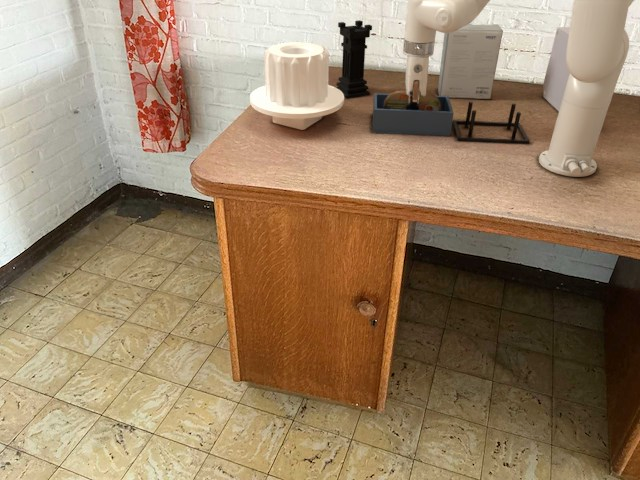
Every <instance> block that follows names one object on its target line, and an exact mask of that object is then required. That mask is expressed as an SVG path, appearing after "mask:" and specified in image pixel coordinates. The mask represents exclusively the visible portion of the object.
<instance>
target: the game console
mask: <svg viewBox="0 0 640 480" xmlns="http://www.w3.org/2000/svg"><path fill="white" fill-rule="evenodd" d="M569 29H570V26H564V27H563V26H558V27H556V31H555V35H554V39H553V43H552V47H551V50H550V55H549V59H548V63H547V68H546V72H545V76H544V79H543V84H542V97H543V98H544V99H545V100H546V101H547V102H548V103H549V104H550V105H551V106H552V107H553V108H554V109H555V110H556V111H557V112H559V110H560V106H561V102H562V99H563V95H564V92H565V88H566V85H567V81H568V78H569V75H570V72H569V70H568V68H567V64H566V52H567V44H568V37H569Z"/></svg>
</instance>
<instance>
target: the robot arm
mask: <svg viewBox="0 0 640 480" xmlns="http://www.w3.org/2000/svg"><path fill="white" fill-rule="evenodd" d="M490 1H491V0H407V4H406V5H407V6H406V14H405V15H406V16H405V25H404V35H403V47H402V54H404V55H405V56H406V65H405V79H404V80H405V81H404V83H405V91H406V93H407V95H408V105H406V110H419V97H420V92H421V96H423V97H424V96H425V95H426V91H427V85H428V78H429V77H428V76H429V65H430V57H432V56H433V55H434V51H435V43H436V36H437V32H439V33H443V34H444V33H452V32H454V31H456V30H458V29H460V28H462V27H464V26H466V25H468V24H472V22H473V21H474V20H475V19H477V17H478V16H479V15H480V14H481V13H482V12H483V10H484V9H485V8H486V6H487V5H488V4H489V2H490ZM634 1H635V0H573V3H572V9H571V15H570V22H569V23H570V24H569V27H570V29H569V37H568V44H567V52H566V64H567V68H568V70H569V72H570V75H569V78H568V81H567V85H566V88H565V92H564V95H563V99H562V102H561V106H560V110H559V111H558V114H557V116H556V121H555V124H554V128H553V132H552V135H551V139H550V142H549V147H548V149H547V150H545V151H542V152H541V153H540V155H539V157H538V163H539V164H540V165H541V166H542V167H543V168H544V169H546V170H547V171H549V172H551V173H553V174H557V175H560V176H564V177H571V178H572V177H573V178H581V177H583V178H584V177H588V176H591V175H593V174H594V173H595V172H596V171H597V167H598V164H597V162H596V161H595V160H594V159H593V156H594V153H595V150H596V148H597V145H598V141H599V139H600V135H601V132H602V129H603V125H604V122H605V119H606V118H607V117H606V116H607V113H608V111H609V107H610V105H611V101H612V99H613V96H614V93H615V90H616V86H617V84H618V81H619V78H620V76H621V73H622V70H623V68H624V65H625V62H626V60H627V56H628V55H629V49H630V38H629V35H628V32H627V31H626V28H625V27H626V23H627V17H628V13H629V8H630V6H631V5H632V4H633V2H634ZM411 92H413V94H411ZM411 97H412V98H411Z"/></svg>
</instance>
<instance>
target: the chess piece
mask: <svg viewBox="0 0 640 480" xmlns="http://www.w3.org/2000/svg"><path fill="white" fill-rule="evenodd" d="M363 25H364V26H363ZM337 28H339V35H340V36H342V37H343V38H342V42H341V43H340V44H341V45H340V46H341V47H342V64H341V65H342V66H341V67H342V69H341V70H342V71H341V77H338V82H337V81H336V86H334V87H335V88H337V89H339V90H340V91H341V92H342V93H343V94H344V99H350V98H358V97H364V96H370V94H371V91H369V85H367V84H368V81H367V80H366V79H364V77H365V61H366V60H365V59H366V49H367V50H368V45H367V44H366V42H367V41H366V40H367V38H368V39H369V38H371V36H370V35H371V31H373V25H372V24H364V21H363V20H361V19H360V20H355V21H354V25H348V26H347V24H346V22H344V21H340V22H339V21H338V22H337Z"/></svg>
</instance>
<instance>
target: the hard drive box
mask: <svg viewBox="0 0 640 480" xmlns="http://www.w3.org/2000/svg"><path fill="white" fill-rule="evenodd" d="M503 33H504V30H503V29H502V28H501V26H500V25H499V24H498V23H496V24H495V23H469V24H468V25H466V26H464V27H462V28H460V29H458V30H456V31H454V32H452V33H443V40H442V41H443V43H442V50H441V58H440V67H439V76H438V82H437V83H438V84H437V92H438V96H449V99H450V98H451V99H455V98H456V99H477V100H481V99H482V100H491V98H492V93H493V87H494V81H495V78H496V72H497V66H498V65H497V64H498V61H499V56H500V55H499V54H500V49H501V45H502V38H503Z"/></svg>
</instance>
